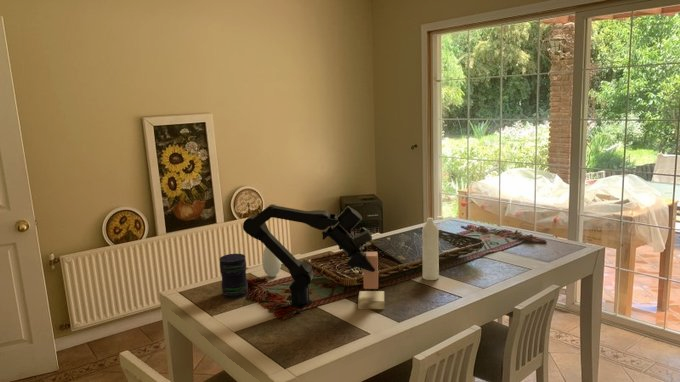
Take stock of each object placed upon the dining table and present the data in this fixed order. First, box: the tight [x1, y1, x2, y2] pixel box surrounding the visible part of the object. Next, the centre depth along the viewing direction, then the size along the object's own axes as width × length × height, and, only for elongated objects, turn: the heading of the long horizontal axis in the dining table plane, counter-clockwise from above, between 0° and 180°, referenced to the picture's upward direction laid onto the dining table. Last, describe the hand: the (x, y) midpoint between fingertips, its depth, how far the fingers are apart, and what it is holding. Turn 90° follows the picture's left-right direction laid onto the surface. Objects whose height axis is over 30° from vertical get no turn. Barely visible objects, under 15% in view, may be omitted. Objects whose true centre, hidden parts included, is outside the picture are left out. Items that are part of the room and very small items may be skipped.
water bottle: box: [421, 215, 444, 281], centre depth 202 cm, size 9×6×25 cm
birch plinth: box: [357, 290, 385, 310], centre depth 181 cm, size 9×9×3 cm
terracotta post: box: [362, 251, 379, 290], centre depth 179 cm, size 5×5×12 cm
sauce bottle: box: [261, 246, 282, 278], centre depth 211 cm, size 8×8×18 cm
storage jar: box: [219, 253, 249, 300], centre depth 194 cm, size 10×10×15 cm
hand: (374, 268), depth 178 cm, fingers closed on terracotta post, 5 cm apart
